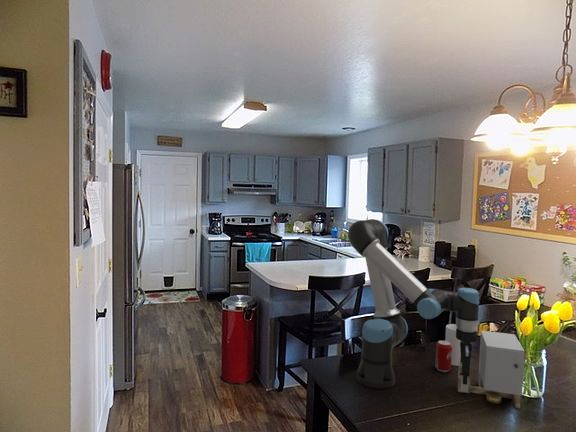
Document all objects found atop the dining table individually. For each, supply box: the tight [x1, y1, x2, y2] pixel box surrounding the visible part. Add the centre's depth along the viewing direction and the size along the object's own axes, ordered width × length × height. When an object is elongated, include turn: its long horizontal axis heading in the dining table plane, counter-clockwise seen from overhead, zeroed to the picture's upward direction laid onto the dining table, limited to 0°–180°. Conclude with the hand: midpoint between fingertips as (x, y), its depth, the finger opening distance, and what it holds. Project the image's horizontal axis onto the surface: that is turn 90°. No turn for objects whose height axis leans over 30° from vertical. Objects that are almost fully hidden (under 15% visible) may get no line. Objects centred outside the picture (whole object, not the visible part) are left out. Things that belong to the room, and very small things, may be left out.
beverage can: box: [434, 340, 452, 373], centre depth 179 cm, size 6×6×12 cm
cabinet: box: [477, 330, 525, 397], centre depth 156 cm, size 12×19×22 cm, turn 161°
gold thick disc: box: [485, 392, 503, 404], centre depth 154 cm, size 5×5×2 cm
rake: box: [457, 362, 521, 410], centre depth 156 cm, size 20×10×10 cm, turn 71°
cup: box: [444, 323, 461, 367], centre depth 188 cm, size 8×8×16 cm
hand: (463, 388), depth 161 cm, fingers closed on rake, 4 cm apart
